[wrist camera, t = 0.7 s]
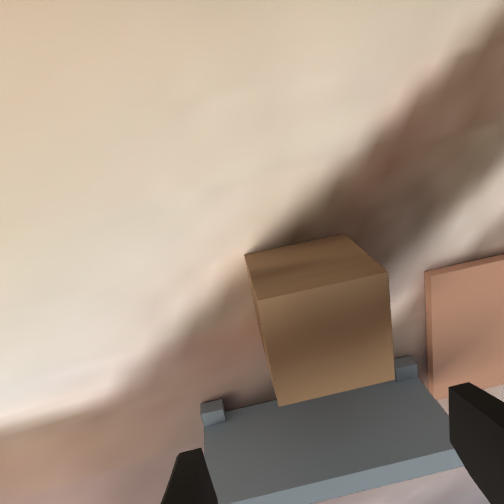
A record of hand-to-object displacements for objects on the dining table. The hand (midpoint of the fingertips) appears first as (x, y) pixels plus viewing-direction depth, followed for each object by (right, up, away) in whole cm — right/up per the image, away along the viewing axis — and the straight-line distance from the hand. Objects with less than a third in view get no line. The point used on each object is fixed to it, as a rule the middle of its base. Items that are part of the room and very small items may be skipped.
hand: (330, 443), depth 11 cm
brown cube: (0, +4, +9) cm, 10 cm away
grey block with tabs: (+1, -3, +11) cm, 12 cm away
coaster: (+11, +2, +11) cm, 16 cm away
